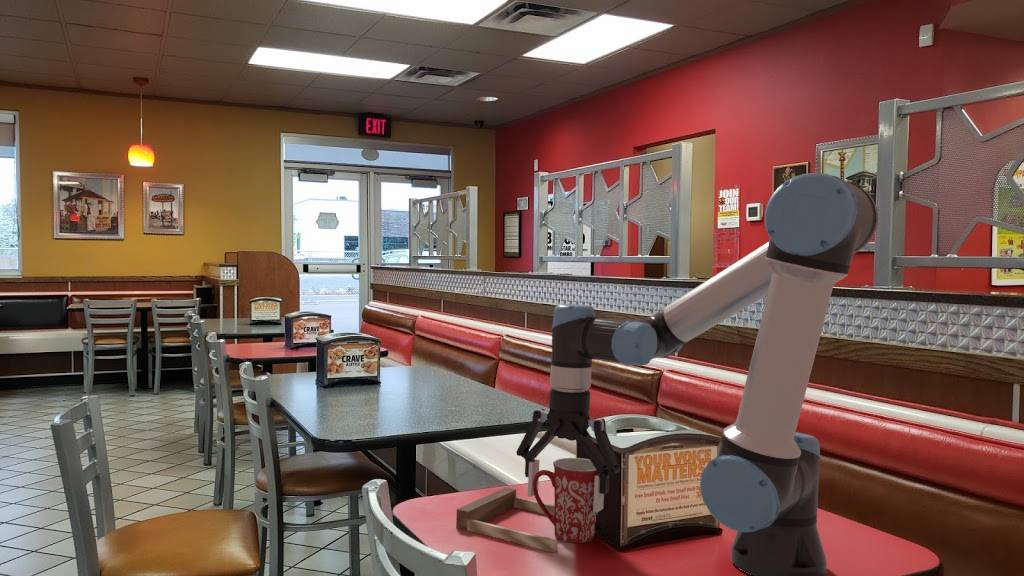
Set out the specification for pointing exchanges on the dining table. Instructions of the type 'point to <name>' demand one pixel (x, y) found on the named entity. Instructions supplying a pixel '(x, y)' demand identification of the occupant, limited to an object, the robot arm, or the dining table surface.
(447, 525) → the dining table surface
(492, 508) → the channel
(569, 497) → the mug
